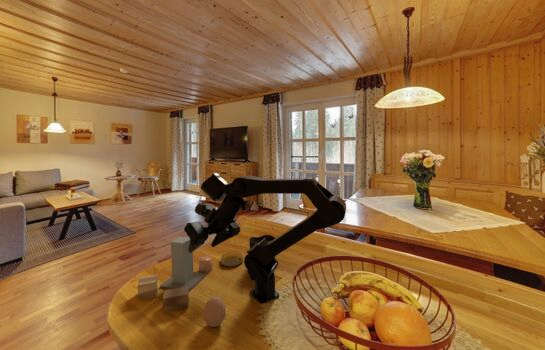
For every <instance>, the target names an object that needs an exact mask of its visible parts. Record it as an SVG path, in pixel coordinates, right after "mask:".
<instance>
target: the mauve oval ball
mask: <svg viewBox="0 0 545 350" xmlns="http://www.w3.org/2000/svg"><path fill="white" fill-rule="evenodd" d="M226 310H227V309H226V305H225V303H224V301H223V300H222V298H220V297H219V296H212V297H210V298H209V299H208V300H207V301H206V302H205V305H204V307H203V312H202V314H203V320H204V322H205V323H206V325H207V326H208V327H211V328H215V327H219V326H220V325H221V324H222V323H223V322H224V320H225V318H226V312H227V311H226Z"/></svg>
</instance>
